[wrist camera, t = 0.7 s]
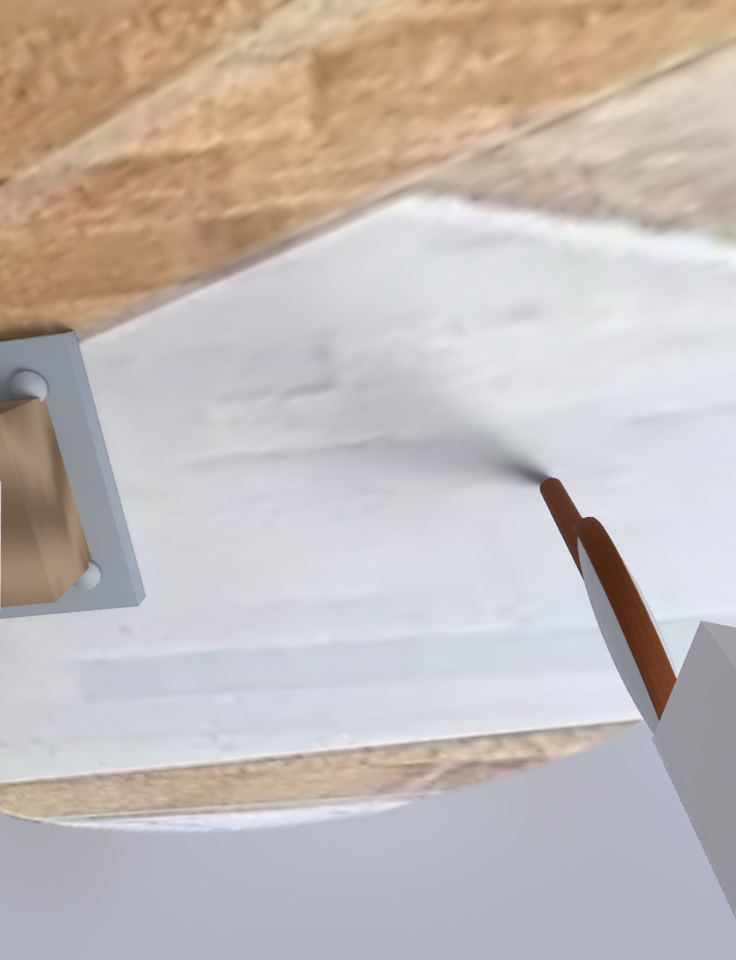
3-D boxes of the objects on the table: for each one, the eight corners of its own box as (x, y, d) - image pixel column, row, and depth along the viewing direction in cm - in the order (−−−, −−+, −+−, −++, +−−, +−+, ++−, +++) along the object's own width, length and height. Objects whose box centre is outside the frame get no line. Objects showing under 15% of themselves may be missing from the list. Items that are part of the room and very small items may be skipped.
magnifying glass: (587, 542, 39) (746, 825, 21) (558, 553, 40) (688, 841, 21) (536, 405, 37) (663, 584, 18) (505, 417, 37) (599, 605, 19)
